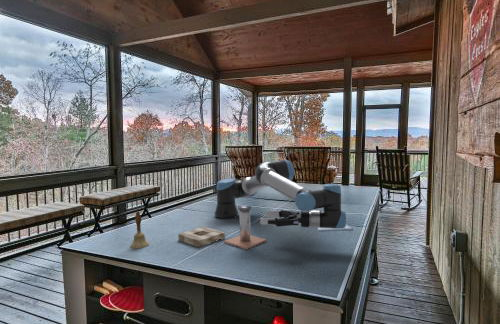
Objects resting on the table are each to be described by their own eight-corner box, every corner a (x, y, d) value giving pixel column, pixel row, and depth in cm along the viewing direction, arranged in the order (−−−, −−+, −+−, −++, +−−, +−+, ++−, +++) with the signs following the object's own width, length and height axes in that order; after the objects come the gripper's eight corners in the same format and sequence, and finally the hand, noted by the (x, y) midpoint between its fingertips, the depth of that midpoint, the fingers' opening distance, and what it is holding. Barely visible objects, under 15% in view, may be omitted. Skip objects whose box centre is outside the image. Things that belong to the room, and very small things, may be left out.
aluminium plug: (245, 237, 147) (244, 204, 146) (254, 239, 143) (254, 206, 141) (235, 240, 142) (235, 207, 141) (245, 243, 138) (245, 209, 137)
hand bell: (129, 249, 136) (127, 214, 135) (131, 243, 144) (129, 210, 143) (148, 247, 138) (147, 213, 137) (149, 241, 146) (148, 209, 145)
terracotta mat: (244, 235, 152) (244, 233, 152) (266, 241, 143) (266, 239, 143) (224, 243, 142) (224, 241, 142) (246, 249, 133) (246, 247, 132)
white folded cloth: (340, 221, 178) (340, 217, 178) (353, 231, 158) (353, 227, 158) (308, 222, 177) (308, 218, 177) (317, 232, 157) (317, 228, 157)
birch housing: (203, 232, 159) (203, 226, 159) (224, 238, 149) (224, 232, 149) (178, 240, 148) (178, 234, 147) (199, 247, 137) (199, 240, 137)
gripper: (309, 235, 123) (258, 233, 128) (310, 219, 147) (267, 218, 152) (309, 217, 123) (258, 215, 127) (310, 204, 147) (267, 203, 151)
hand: (263, 217), depth 139 cm, fingers open, 13 cm apart
